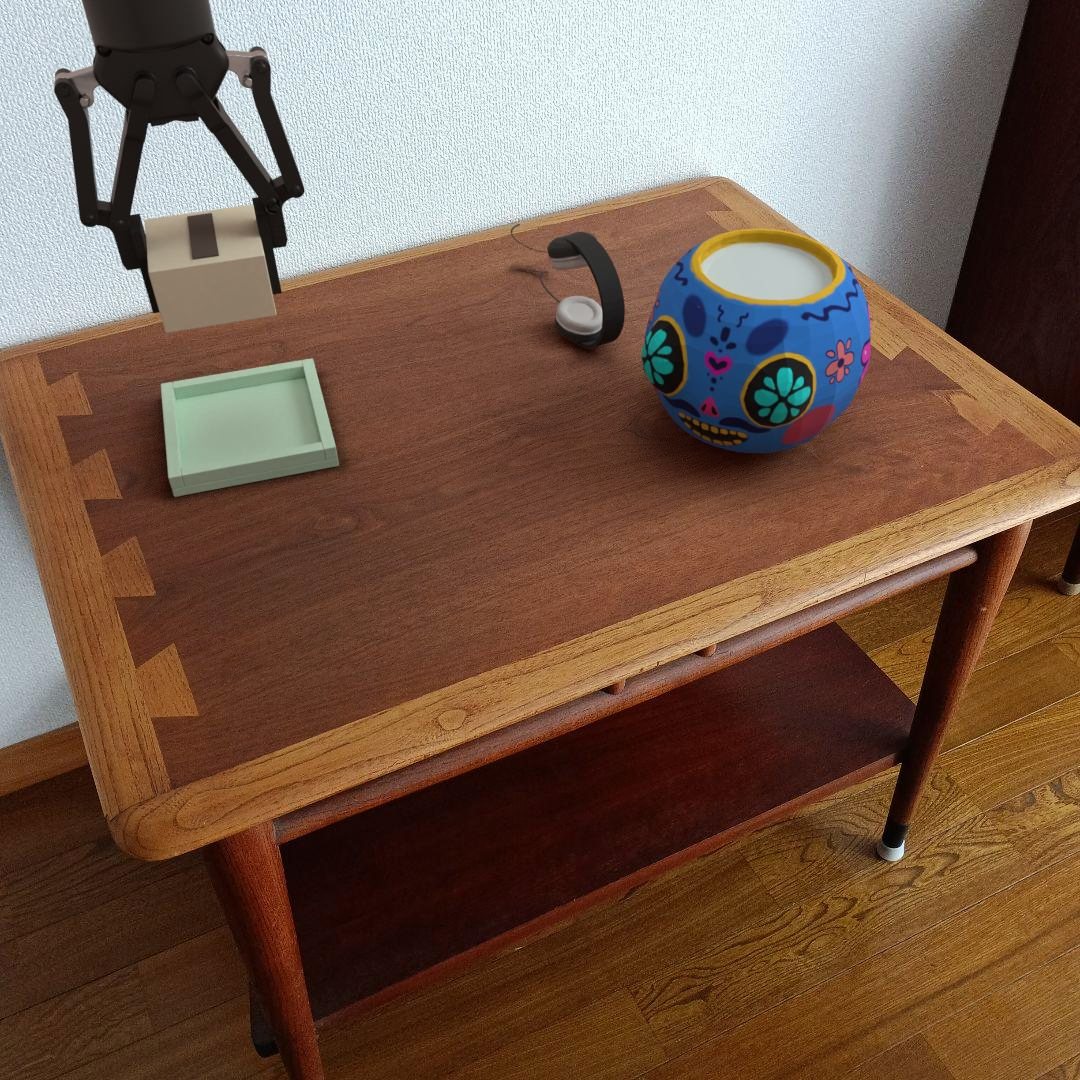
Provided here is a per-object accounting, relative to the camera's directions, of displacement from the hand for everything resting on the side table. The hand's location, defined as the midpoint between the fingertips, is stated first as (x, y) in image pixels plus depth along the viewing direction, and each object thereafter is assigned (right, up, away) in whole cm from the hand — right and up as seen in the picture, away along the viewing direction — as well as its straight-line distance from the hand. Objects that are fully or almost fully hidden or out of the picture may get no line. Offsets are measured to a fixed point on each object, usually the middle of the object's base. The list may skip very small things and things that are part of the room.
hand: (216, 293), depth 83 cm
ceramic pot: (+41, -9, +10) cm, 43 cm away
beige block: (0, 0, 0) cm, 0 cm away
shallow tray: (0, -10, +9) cm, 13 cm away
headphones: (+26, +3, +22) cm, 34 cm away
